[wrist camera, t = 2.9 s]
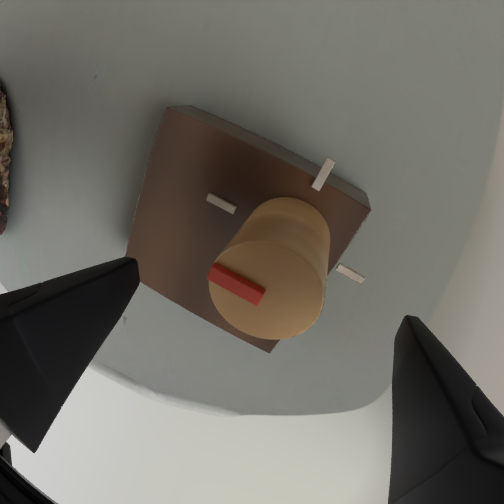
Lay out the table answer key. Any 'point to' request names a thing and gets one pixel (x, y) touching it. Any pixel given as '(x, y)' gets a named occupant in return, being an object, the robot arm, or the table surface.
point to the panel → (224, 205)
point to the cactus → (4, 158)
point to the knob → (273, 270)
